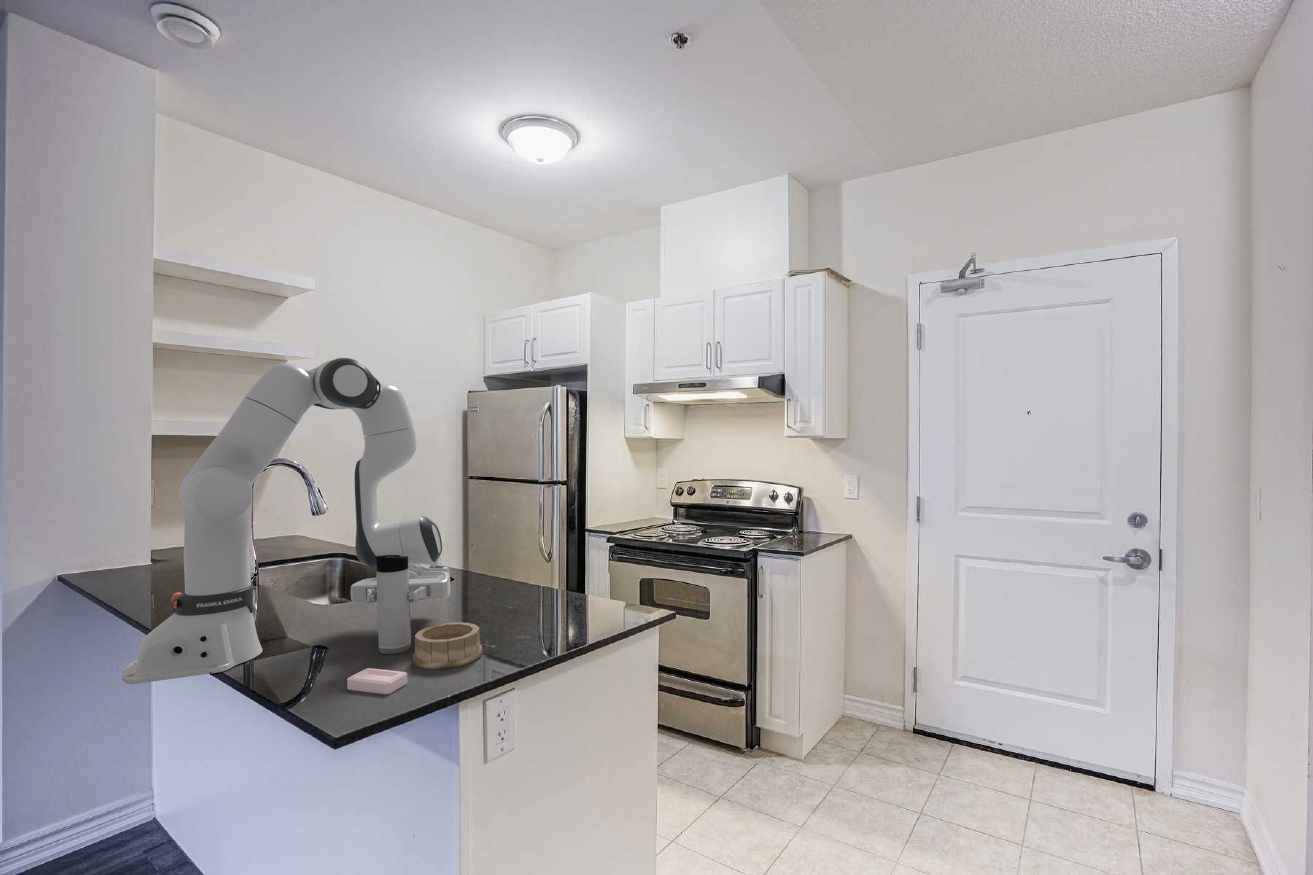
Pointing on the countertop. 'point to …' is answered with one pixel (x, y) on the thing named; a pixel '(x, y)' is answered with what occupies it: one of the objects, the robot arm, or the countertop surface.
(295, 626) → the countertop surface
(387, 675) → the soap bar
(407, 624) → the travel mug
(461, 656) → the cup holder
